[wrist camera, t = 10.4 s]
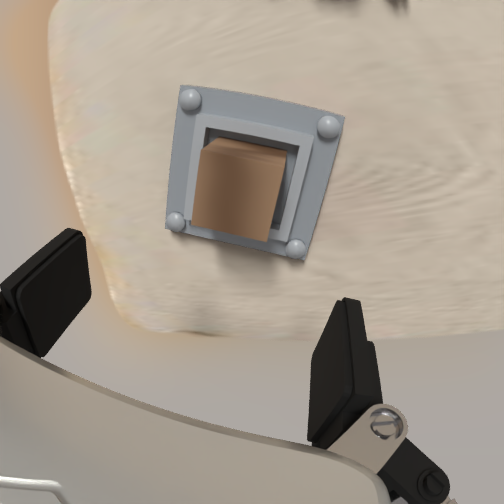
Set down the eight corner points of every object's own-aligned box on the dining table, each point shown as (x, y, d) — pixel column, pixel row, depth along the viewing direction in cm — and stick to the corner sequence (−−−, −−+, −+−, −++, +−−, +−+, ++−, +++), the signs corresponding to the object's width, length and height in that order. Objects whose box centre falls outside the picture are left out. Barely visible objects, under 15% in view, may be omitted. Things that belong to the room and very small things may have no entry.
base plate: (342, 115, 22) (347, 118, 20) (304, 253, 28) (304, 267, 26) (185, 84, 22) (174, 85, 20) (169, 222, 28) (159, 235, 26)
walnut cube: (287, 150, 23) (284, 167, 18) (272, 212, 25) (266, 242, 21) (219, 136, 23) (200, 149, 18) (209, 198, 25) (191, 224, 21)
